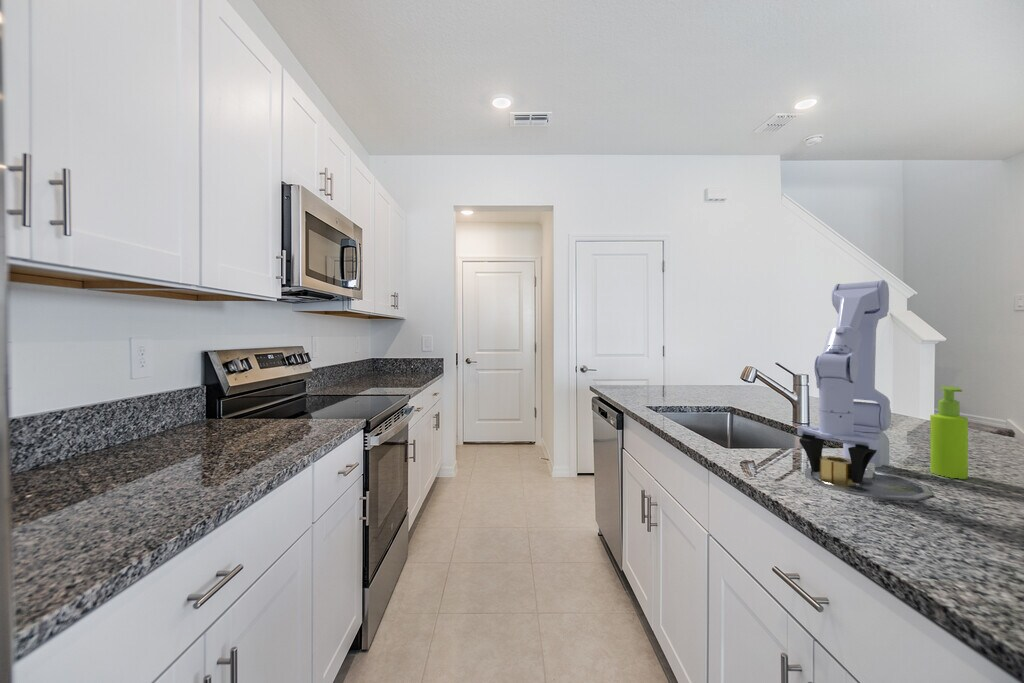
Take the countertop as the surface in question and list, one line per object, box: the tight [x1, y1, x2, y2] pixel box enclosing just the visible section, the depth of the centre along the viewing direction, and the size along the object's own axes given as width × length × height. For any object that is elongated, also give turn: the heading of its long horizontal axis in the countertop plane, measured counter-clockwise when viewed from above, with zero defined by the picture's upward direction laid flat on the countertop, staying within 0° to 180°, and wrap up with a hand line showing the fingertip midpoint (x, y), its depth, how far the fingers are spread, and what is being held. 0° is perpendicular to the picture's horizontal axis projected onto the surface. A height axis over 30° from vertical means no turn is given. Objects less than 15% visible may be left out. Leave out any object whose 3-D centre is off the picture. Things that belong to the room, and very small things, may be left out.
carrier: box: [804, 462, 933, 501], centre depth 89 cm, size 20×20×4 cm
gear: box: [819, 455, 856, 486], centre depth 89 cm, size 6×6×4 cm
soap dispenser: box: [929, 385, 969, 480], centre depth 96 cm, size 6×7×20 cm
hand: (836, 476), depth 89 cm, fingers open, 7 cm apart
